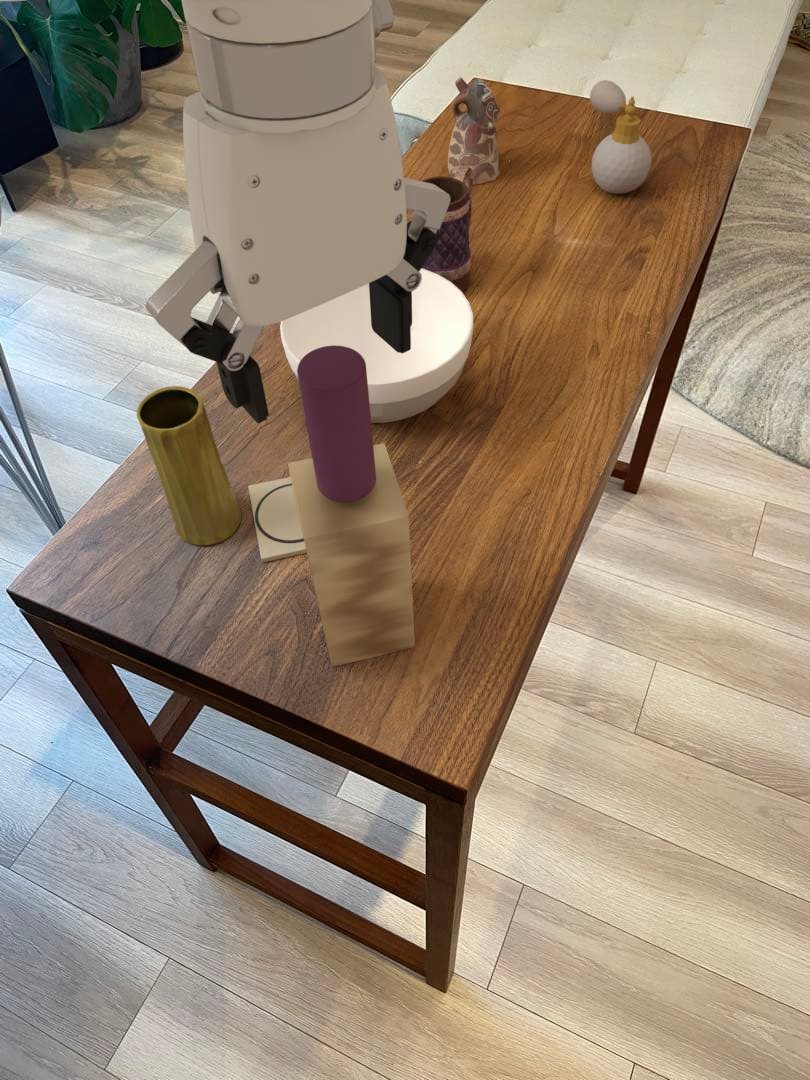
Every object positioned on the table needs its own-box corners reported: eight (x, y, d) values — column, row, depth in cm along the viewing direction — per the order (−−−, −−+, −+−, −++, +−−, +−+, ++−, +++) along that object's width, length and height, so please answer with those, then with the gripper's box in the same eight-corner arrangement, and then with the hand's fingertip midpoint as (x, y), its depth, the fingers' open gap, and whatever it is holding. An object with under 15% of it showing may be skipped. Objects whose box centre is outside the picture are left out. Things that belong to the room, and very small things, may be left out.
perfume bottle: (632, 209, 107) (651, 114, 97) (563, 190, 110) (574, 96, 101) (654, 181, 111) (673, 87, 101) (586, 164, 114) (599, 72, 104)
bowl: (256, 412, 86) (240, 345, 79) (354, 312, 96) (347, 244, 89) (414, 477, 80) (411, 410, 73) (502, 363, 89) (507, 294, 82)
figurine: (488, 189, 111) (492, 96, 101) (439, 179, 113) (439, 87, 103) (507, 163, 115) (512, 71, 105) (459, 154, 117) (460, 63, 107)
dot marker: (324, 516, 55) (303, 396, 47) (313, 473, 57) (291, 351, 49) (382, 503, 55) (372, 383, 47) (369, 461, 58) (358, 339, 49)
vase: (236, 546, 75) (200, 434, 64) (170, 547, 75) (122, 435, 64) (246, 495, 79) (213, 381, 68) (182, 496, 79) (139, 382, 68)
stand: (331, 667, 67) (304, 538, 54) (316, 598, 72) (287, 462, 58) (415, 647, 68) (409, 516, 55) (395, 580, 72) (384, 442, 59)
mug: (451, 307, 96) (452, 211, 86) (399, 289, 98) (394, 193, 88) (493, 262, 101) (499, 166, 91) (442, 246, 103) (443, 151, 94)
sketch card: (262, 562, 74) (260, 558, 73) (249, 489, 79) (247, 484, 79) (382, 536, 75) (381, 532, 75) (361, 466, 81) (360, 461, 80)
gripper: (399, -18, 40) (405, 288, 53) (53, 82, 34) (158, 399, 47) (501, 32, 36) (479, 348, 49) (131, 155, 30) (222, 477, 43)
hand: (323, 373), depth 48 cm, fingers open, 9 cm apart
